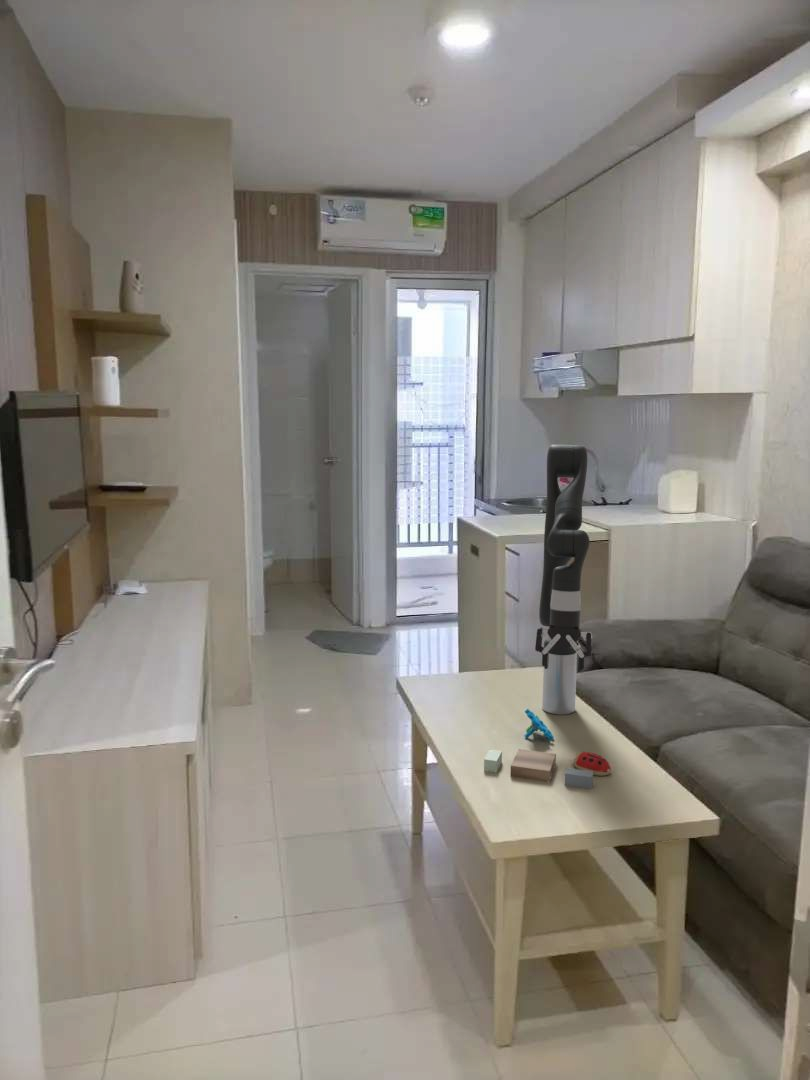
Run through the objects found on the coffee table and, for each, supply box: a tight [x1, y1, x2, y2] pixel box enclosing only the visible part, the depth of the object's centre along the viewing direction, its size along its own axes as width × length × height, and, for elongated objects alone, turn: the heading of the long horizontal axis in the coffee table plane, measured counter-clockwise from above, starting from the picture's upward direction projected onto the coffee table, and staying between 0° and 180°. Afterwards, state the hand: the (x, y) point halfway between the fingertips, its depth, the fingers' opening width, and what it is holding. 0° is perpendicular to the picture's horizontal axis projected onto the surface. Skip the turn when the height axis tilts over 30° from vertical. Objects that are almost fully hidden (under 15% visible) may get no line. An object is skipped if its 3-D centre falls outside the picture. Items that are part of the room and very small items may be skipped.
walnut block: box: [509, 748, 557, 782], centre depth 188 cm, size 10×9×3 cm
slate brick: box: [564, 767, 594, 790], centre depth 181 cm, size 6×3×3 cm, turn 71°
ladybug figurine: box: [572, 751, 612, 777], centre depth 189 cm, size 7×10×4 cm
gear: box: [524, 708, 555, 741], centre depth 207 cm, size 11×6×10 cm
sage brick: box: [483, 748, 503, 773], centre depth 190 cm, size 6×3×3 cm, turn 161°
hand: (562, 669), depth 205 cm, fingers open, 8 cm apart
